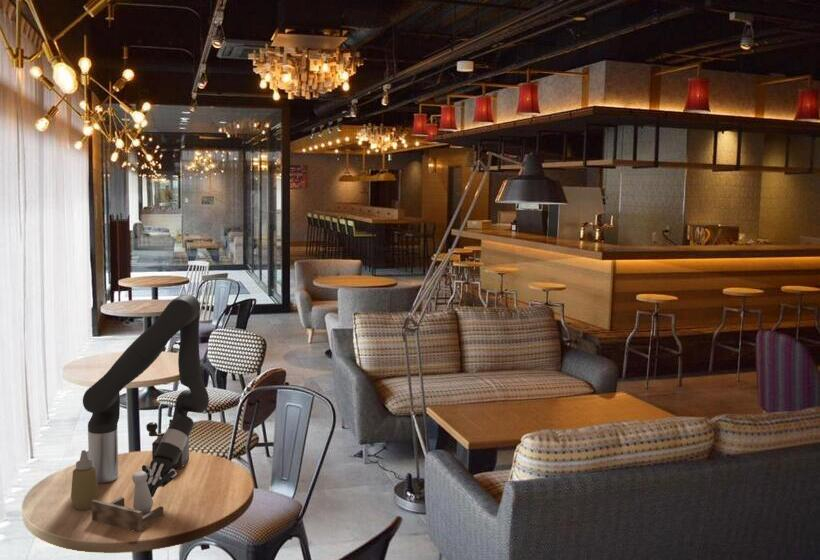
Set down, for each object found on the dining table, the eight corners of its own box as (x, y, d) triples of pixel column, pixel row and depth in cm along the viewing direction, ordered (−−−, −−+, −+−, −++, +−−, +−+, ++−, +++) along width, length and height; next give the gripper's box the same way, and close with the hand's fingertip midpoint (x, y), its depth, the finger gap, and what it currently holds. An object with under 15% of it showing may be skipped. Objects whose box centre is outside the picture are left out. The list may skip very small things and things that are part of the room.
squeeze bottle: (81, 514, 227) (79, 457, 224) (65, 507, 231) (63, 451, 229) (104, 505, 234) (103, 450, 231) (88, 498, 238) (87, 444, 235)
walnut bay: (92, 520, 223) (91, 501, 222) (119, 505, 234) (119, 487, 233) (139, 532, 217) (139, 513, 216) (165, 516, 227) (165, 498, 226)
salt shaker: (147, 517, 226) (142, 479, 223) (130, 515, 228) (125, 477, 224) (157, 506, 232) (152, 469, 229) (140, 504, 233) (135, 467, 230)
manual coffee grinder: (159, 457, 274) (159, 410, 271) (189, 458, 274) (189, 411, 271) (144, 474, 258) (143, 424, 256) (176, 475, 258) (175, 425, 256)
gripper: (148, 438, 240) (123, 489, 230) (183, 444, 235) (158, 496, 225) (160, 448, 245) (136, 498, 236) (194, 454, 241) (170, 505, 231)
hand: (147, 497), depth 231 cm, fingers closed
